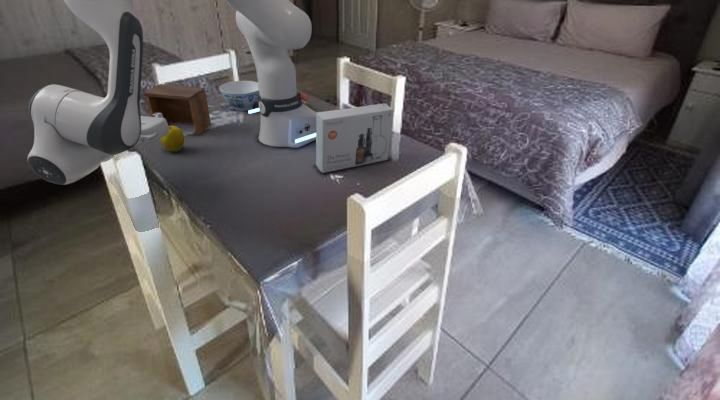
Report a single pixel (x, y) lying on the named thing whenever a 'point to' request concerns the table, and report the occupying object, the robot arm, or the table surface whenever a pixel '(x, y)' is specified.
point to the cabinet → (180, 105)
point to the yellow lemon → (173, 139)
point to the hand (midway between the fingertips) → (142, 113)
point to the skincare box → (353, 136)
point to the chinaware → (240, 94)
